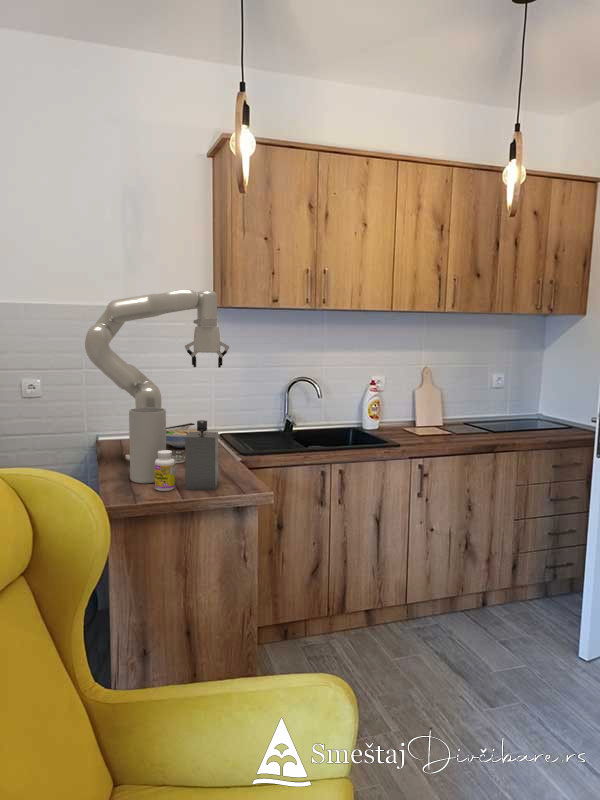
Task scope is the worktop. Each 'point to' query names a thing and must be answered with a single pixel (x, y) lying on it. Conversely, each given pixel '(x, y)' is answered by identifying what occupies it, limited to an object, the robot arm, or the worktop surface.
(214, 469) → the tall grey rectangular prism
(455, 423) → the worktop surface
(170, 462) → the supplement bottle
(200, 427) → the plunger
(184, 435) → the ramen bowl
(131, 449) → the cylinder vase
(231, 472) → the worktop surface
